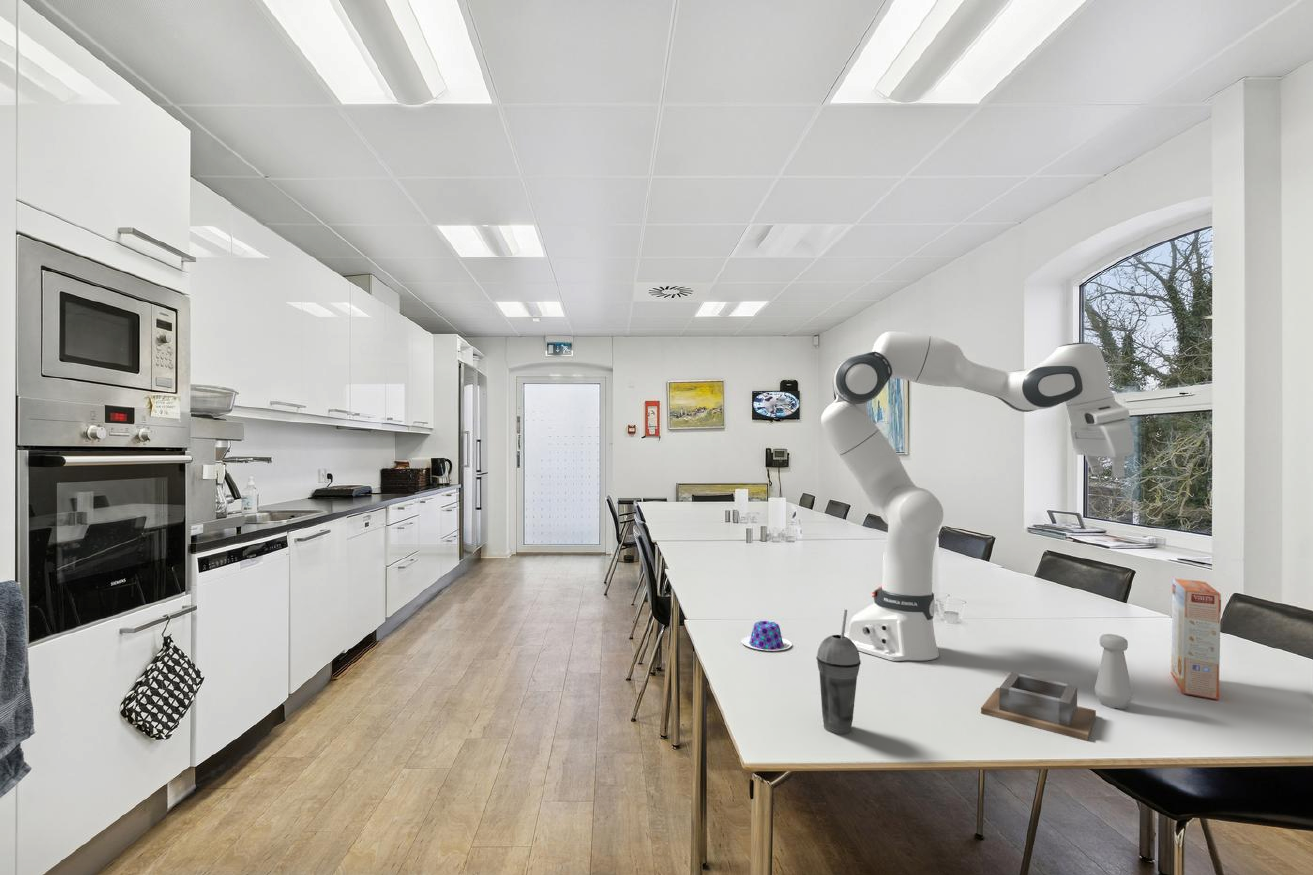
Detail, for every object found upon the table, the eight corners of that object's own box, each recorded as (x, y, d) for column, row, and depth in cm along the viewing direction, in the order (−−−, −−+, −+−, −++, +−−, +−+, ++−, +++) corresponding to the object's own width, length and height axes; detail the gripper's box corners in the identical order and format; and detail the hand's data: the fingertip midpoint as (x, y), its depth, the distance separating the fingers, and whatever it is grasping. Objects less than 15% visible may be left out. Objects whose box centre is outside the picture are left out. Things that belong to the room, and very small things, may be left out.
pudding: (746, 635, 160) (747, 614, 160) (795, 641, 156) (795, 620, 156) (736, 649, 148) (736, 627, 149) (787, 656, 144) (788, 633, 144)
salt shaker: (1120, 699, 122) (1120, 632, 122) (1139, 712, 116) (1140, 641, 116) (1087, 697, 122) (1088, 630, 123) (1106, 710, 117) (1106, 639, 117)
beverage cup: (809, 719, 110) (811, 604, 111) (849, 718, 111) (851, 604, 111) (823, 738, 103) (825, 615, 103) (867, 737, 104) (868, 615, 104)
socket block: (981, 713, 114) (981, 685, 114) (997, 692, 124) (997, 666, 124) (1087, 740, 104) (1088, 710, 104) (1095, 715, 114) (1096, 688, 114)
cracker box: (1221, 701, 122) (1222, 593, 122) (1181, 694, 125) (1182, 588, 125) (1206, 679, 134) (1207, 580, 134) (1170, 673, 137) (1171, 577, 137)
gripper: (1058, 418, 150) (1072, 475, 149) (1098, 416, 130) (1115, 481, 129) (1087, 412, 148) (1101, 469, 148) (1132, 409, 128) (1149, 475, 128)
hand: (1108, 475), depth 138 cm, fingers open, 8 cm apart
